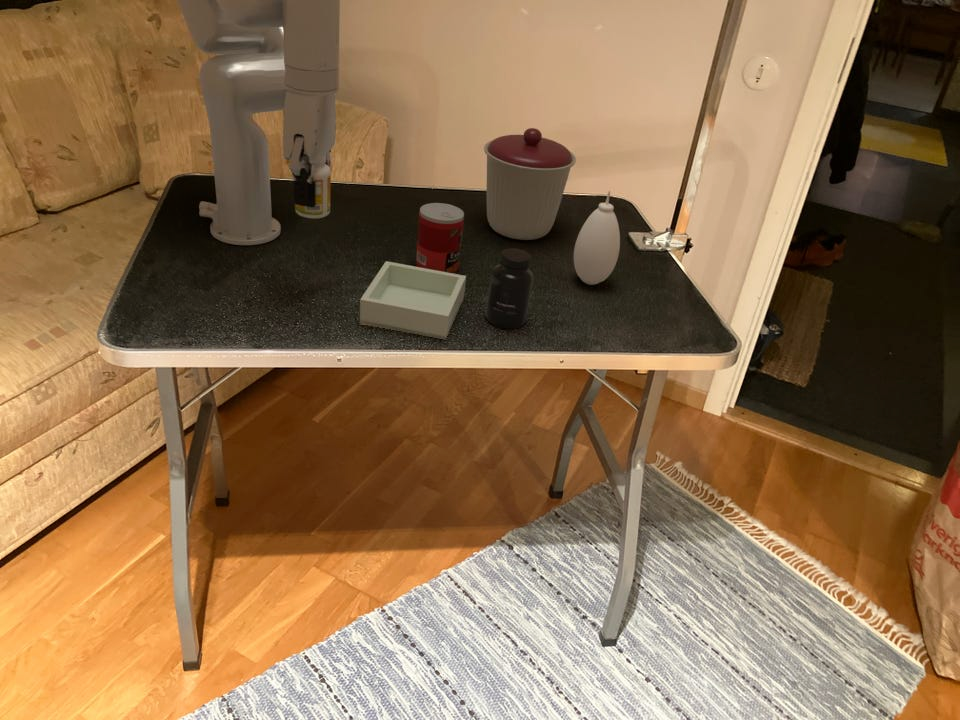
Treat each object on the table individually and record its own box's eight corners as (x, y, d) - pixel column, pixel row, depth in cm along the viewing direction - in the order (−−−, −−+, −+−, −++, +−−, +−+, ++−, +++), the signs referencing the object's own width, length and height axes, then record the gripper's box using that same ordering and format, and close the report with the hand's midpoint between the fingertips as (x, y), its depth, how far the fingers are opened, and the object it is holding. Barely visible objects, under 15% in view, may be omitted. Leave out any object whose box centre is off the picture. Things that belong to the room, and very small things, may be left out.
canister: (535, 257, 145) (553, 151, 133) (458, 229, 152) (469, 126, 140) (576, 230, 158) (595, 131, 147) (503, 205, 165) (516, 109, 154)
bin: (359, 324, 118) (360, 299, 116) (384, 284, 130) (385, 261, 127) (445, 340, 117) (448, 316, 114) (463, 299, 128) (466, 276, 126)
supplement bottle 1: (313, 202, 120) (313, 142, 115) (337, 213, 118) (338, 153, 112) (287, 210, 116) (286, 149, 111) (312, 222, 114) (311, 161, 109)
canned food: (453, 280, 134) (459, 223, 128) (410, 271, 135) (414, 215, 129) (462, 262, 140) (468, 207, 134) (421, 254, 141) (425, 199, 135)
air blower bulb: (561, 274, 141) (579, 182, 131) (598, 271, 143) (618, 181, 133) (580, 294, 135) (600, 200, 125) (618, 290, 137) (640, 198, 127)
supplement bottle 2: (495, 332, 121) (504, 266, 114) (478, 311, 126) (486, 246, 119) (533, 327, 123) (544, 262, 117) (515, 306, 128) (525, 243, 122)
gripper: (308, 60, 113) (309, 174, 123) (260, 87, 99) (266, 214, 109) (356, 68, 112) (353, 183, 123) (315, 97, 98) (315, 224, 109)
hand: (312, 196), depth 116 cm, fingers closed on supplement bottle 1, 5 cm apart
